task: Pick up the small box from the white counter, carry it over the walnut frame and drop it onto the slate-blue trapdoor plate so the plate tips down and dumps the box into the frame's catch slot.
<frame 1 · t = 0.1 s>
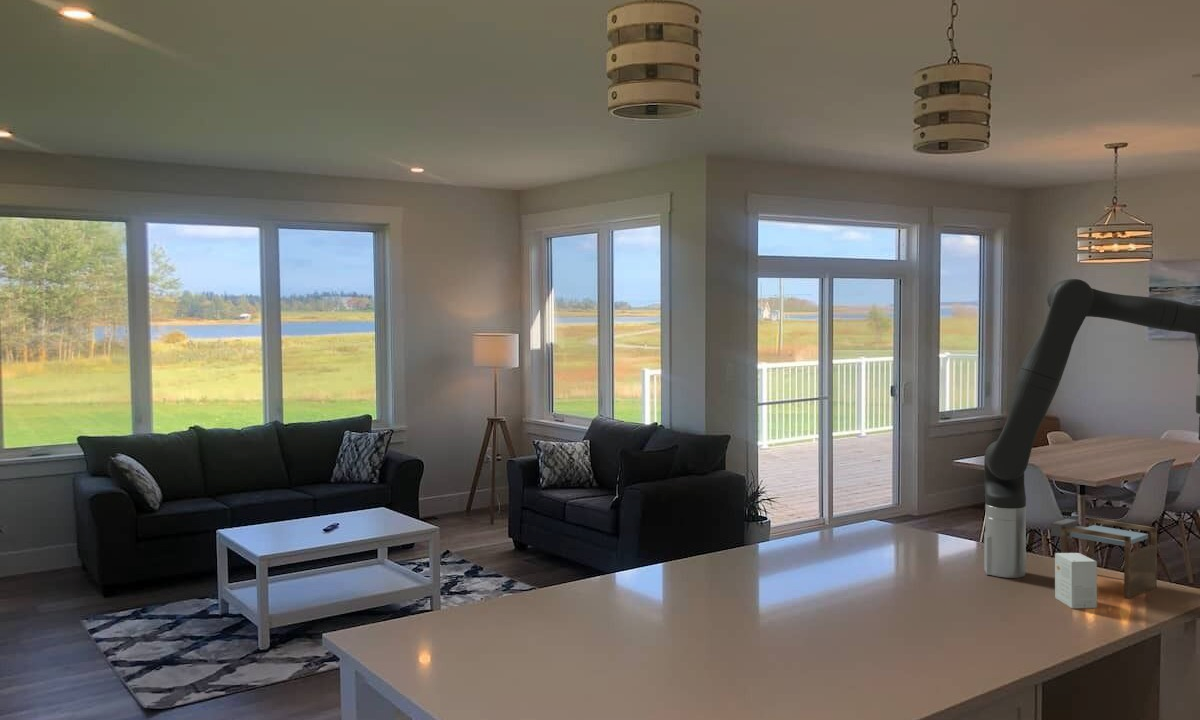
small box: (1075, 604, 205), on the kitchen island
trapdoor: (1096, 533, 220), point 12 cm above the kitchen island, hinge at 0.0°
trapdoor frame: (1108, 585, 218), on the kitchen island
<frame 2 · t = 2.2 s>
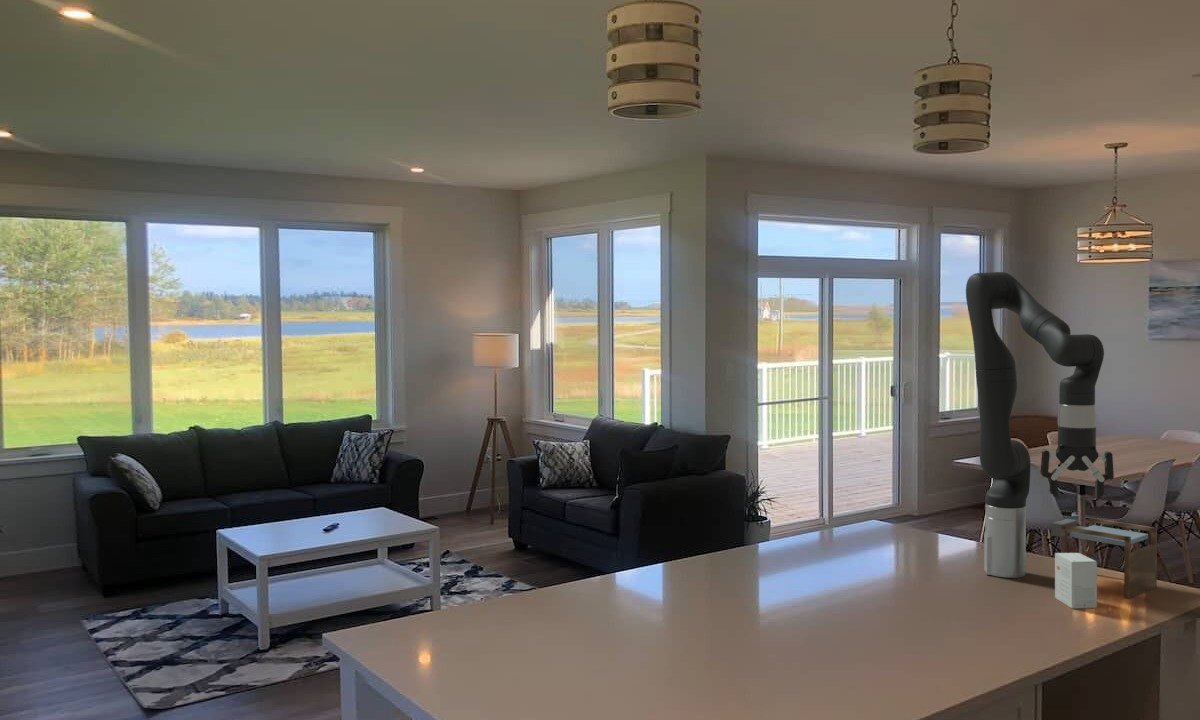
hand: (1076, 497, 204), 24 cm above the kitchen island, fingers open, 8 cm apart
nothing on the kitchen island moved.
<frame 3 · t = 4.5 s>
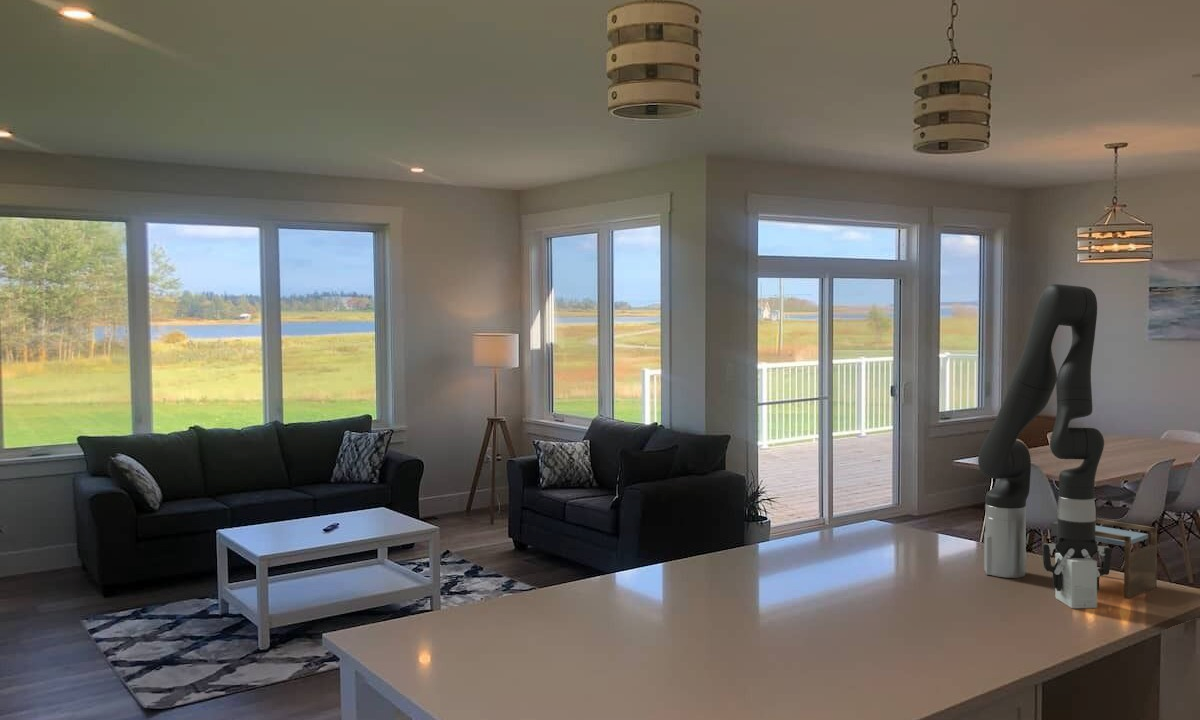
hand: (1075, 591, 205), 3 cm above the kitchen island, fingers closed on small box, 6 cm apart
small box: (1075, 604, 205), on the kitchen island, touching gripper
everything else where it was.
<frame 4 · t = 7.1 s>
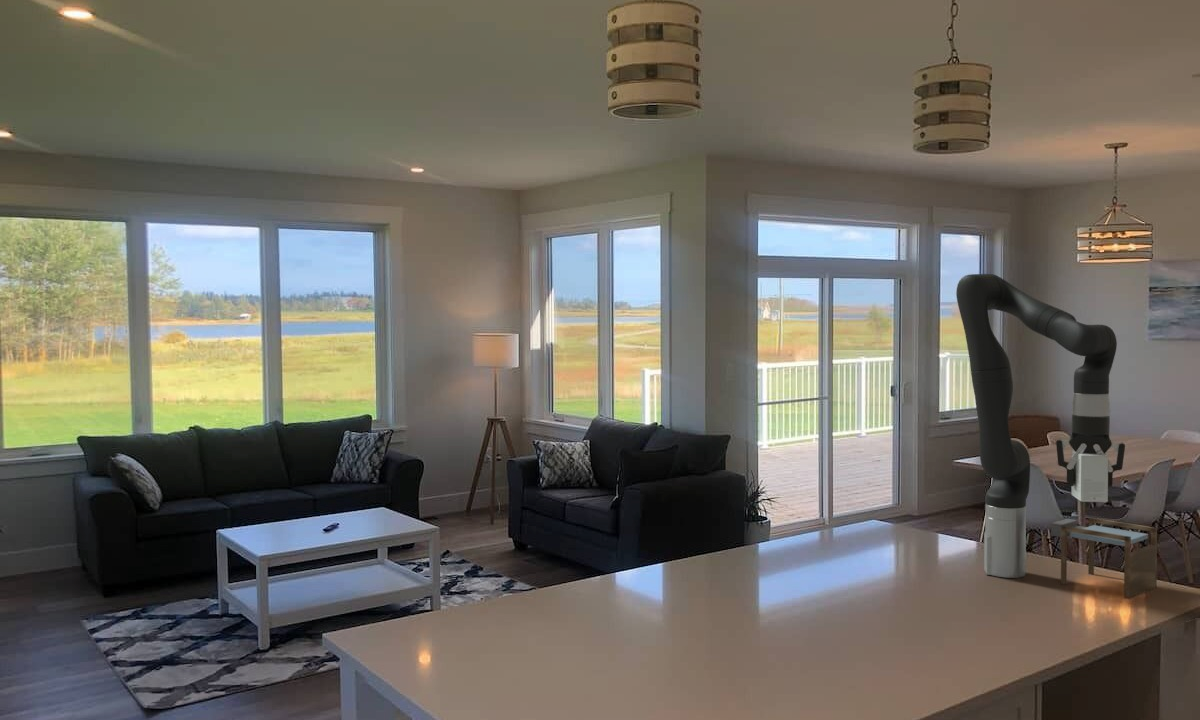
hand: (1089, 486, 208), 25 cm above the kitchen island, fingers closed on small box, 6 cm apart
small box: (1089, 499, 208), point 22 cm above the kitchen island, touching gripper
everything else where it was.
when the fingers open (18 cm above the kitchen island, at t = 9.5 s): small box drops 4 cm, resting on trapdoor.
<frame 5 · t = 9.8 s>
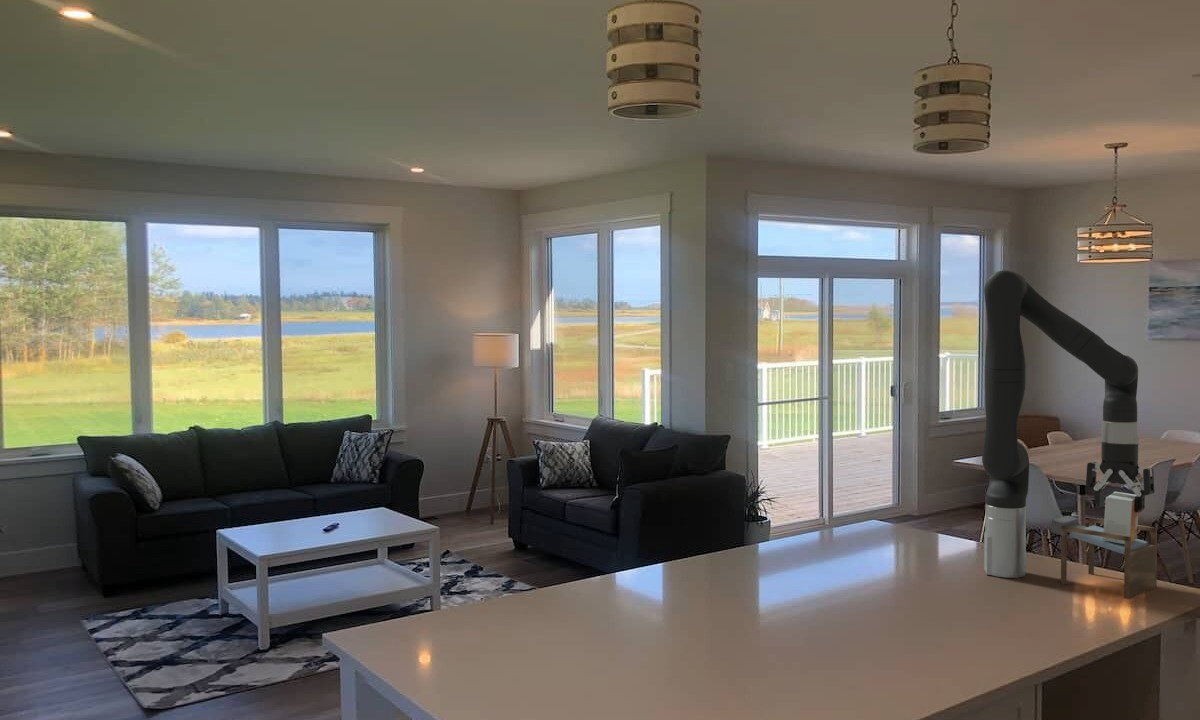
hand: (1119, 509, 216), 19 cm above the kitchen island, fingers open, 8 cm apart
small box: (1119, 540, 216), point 11 cm above the kitchen island, touching gripper, trapdoor
trapdoor: (1096, 535, 220), point 11 cm above the kitchen island, hinge at -8.8°, touching small box
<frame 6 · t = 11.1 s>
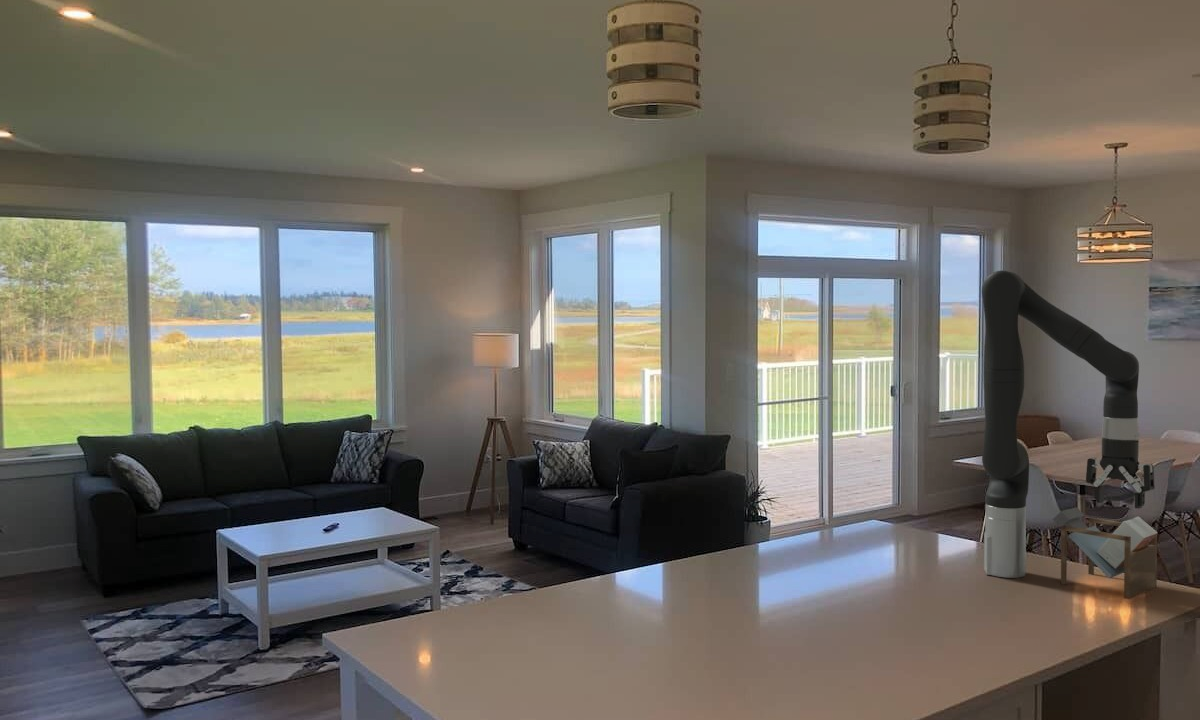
hand: (1119, 505, 216), 20 cm above the kitchen island, fingers open, 8 cm apart
small box: (1112, 558, 218), point 7 cm above the kitchen island, touching trapdoor, trapdoor frame
trapdoor: (1092, 542, 221), point 10 cm above the kitchen island, hinge at -41.5°, touching small box
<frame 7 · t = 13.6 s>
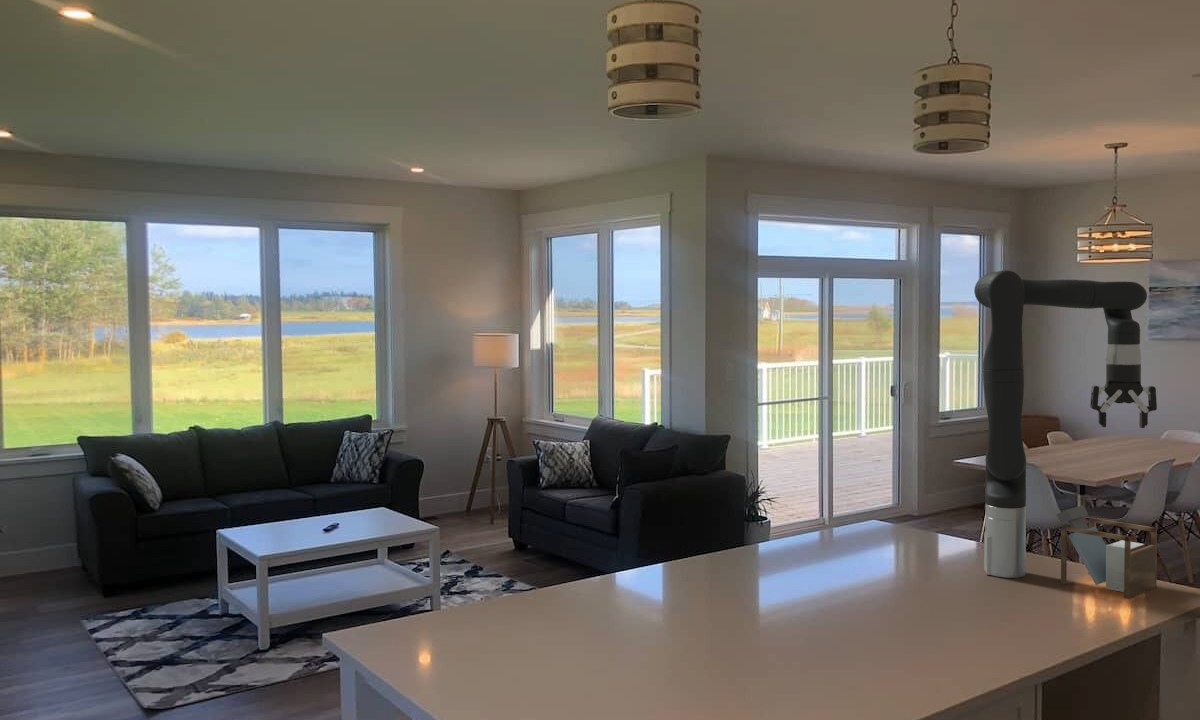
hand: (1122, 427, 229), 36 cm above the kitchen island, fingers open, 8 cm apart
small box: (1125, 589, 216), on the kitchen island
trapdoor: (1089, 544, 221), point 9 cm above the kitchen island, hinge at -58.1°
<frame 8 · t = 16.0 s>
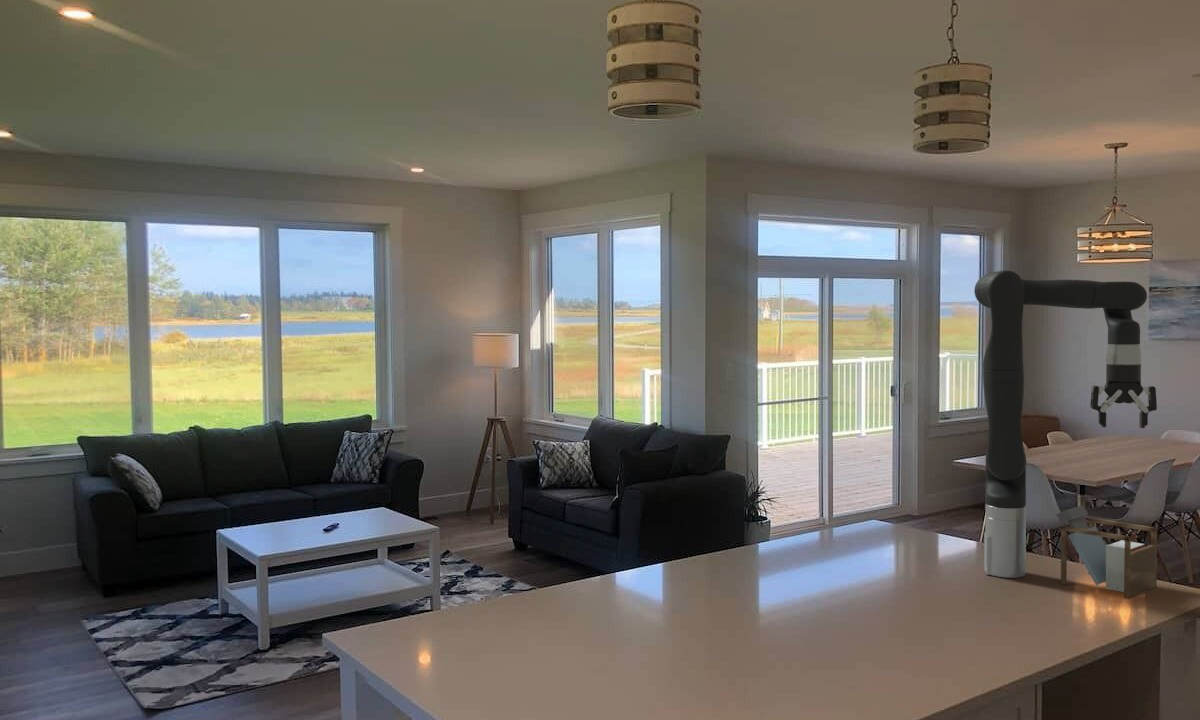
hand: (1122, 427, 229), 36 cm above the kitchen island, fingers open, 8 cm apart
nothing on the kitchen island moved.
at the end: small box on the kitchen island; small box 3.6 cm from the trapdoor frame (horizontally); the gripper is holding nothing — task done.
